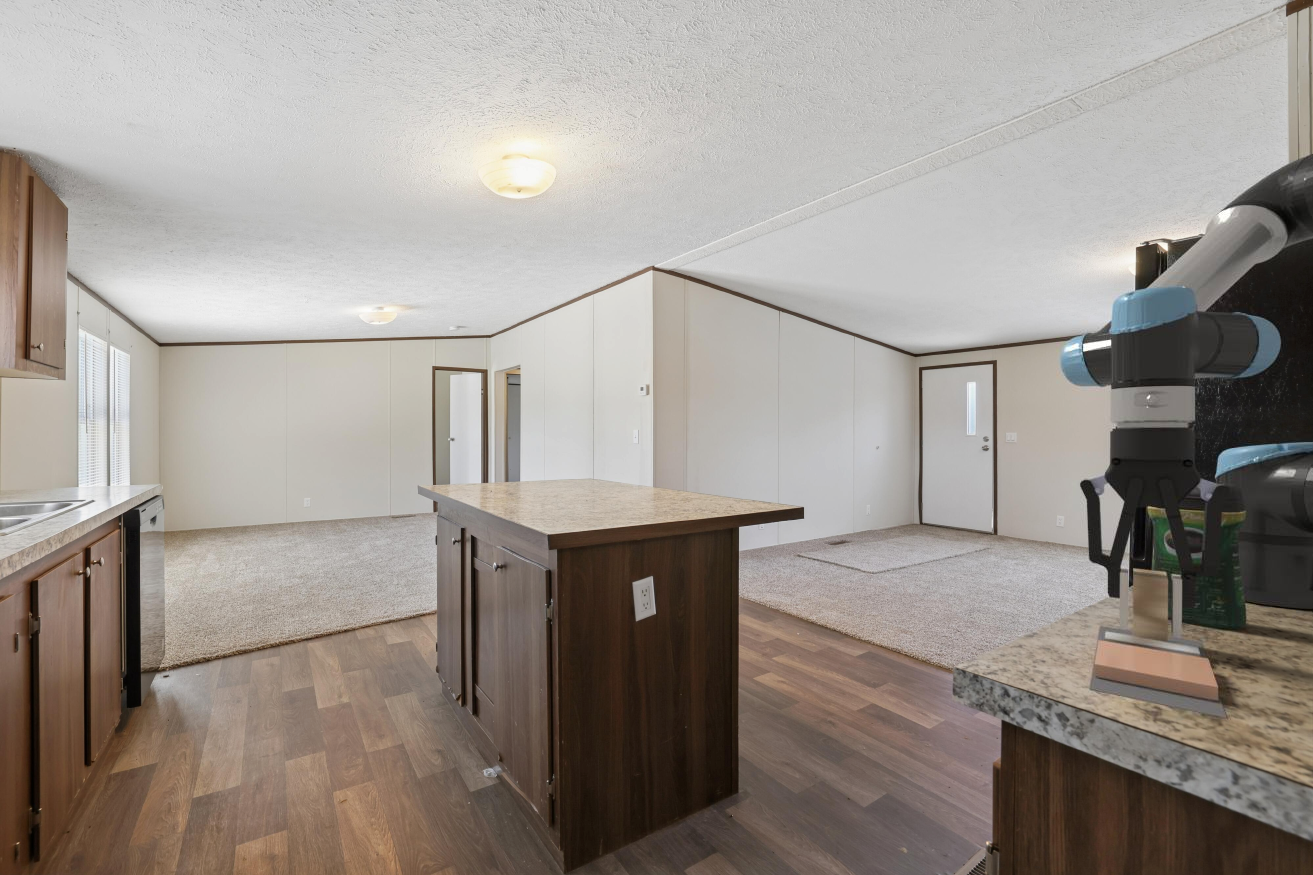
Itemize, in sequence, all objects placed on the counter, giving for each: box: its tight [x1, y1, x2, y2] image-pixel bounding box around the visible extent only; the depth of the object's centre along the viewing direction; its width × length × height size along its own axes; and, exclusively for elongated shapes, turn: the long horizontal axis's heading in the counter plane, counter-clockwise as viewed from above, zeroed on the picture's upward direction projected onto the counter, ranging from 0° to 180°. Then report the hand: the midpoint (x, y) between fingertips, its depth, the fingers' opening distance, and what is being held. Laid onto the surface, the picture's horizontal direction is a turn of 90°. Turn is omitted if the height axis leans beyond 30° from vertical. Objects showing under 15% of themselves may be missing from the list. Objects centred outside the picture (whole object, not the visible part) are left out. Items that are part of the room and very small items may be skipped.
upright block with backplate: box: [1105, 567, 1200, 657], centre depth 69 cm, size 8×8×8 cm
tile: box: [1094, 639, 1219, 701], centre depth 61 cm, size 9×1×9 cm
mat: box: [1088, 625, 1228, 719], centre depth 64 cm, size 10×24×1 cm, turn 142°
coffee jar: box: [1146, 481, 1247, 631], centre depth 80 cm, size 10×8×19 cm
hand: (1149, 630), depth 70 cm, fingers open, 4 cm apart
